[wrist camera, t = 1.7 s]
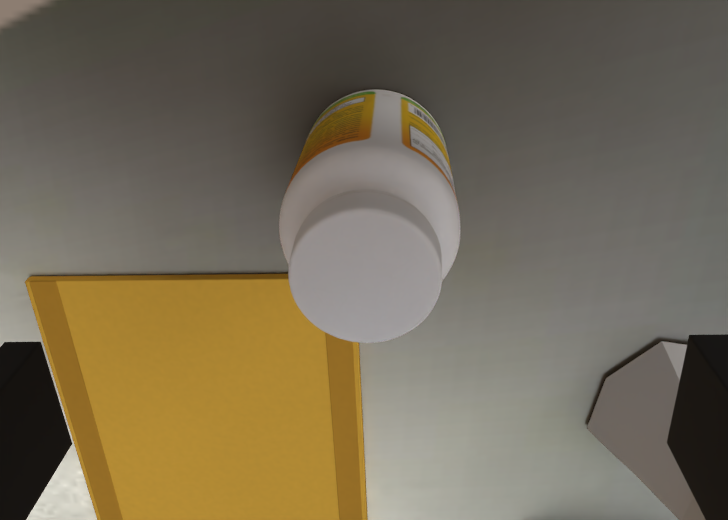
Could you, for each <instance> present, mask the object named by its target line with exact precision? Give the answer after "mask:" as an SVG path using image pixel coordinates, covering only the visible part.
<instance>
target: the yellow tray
mask: <svg viewBox="0 0 728 520" xmlns="http://www.w3.org/2000/svg"><path fill="white" fill-rule="evenodd" d="M25 283H26V287H27V290H28V293H29V297H30V300H31V303H32V306H33V310H34V313H35V316H36V320H37V323H38V326H39V329H40V333H41V336H42V339H43V342H44V346H45V349H46V352H47V356H48V359H49V362H50V365H51V369H52V372H53V375H54V379H55V382H56V385H57V388H58V392H59V395H60V398H61V402H62V405H63V408H64V411H65V415H66V418H67V421H68V424H69V428H70V431H71V434H72V438H73V441H74V444H75V447H76V451H77V454H78V457H79V461H80V464H81V467H82V470H83V474H84V477H85V480H86V484H87V487H88V490H89V493H90V497H91V500H92V503H93V506H94V510H95V513H96V516H97V520H367V500H366V479H365V459H364V438H363V418H362V397H361V377H360V356H359V343H358V342H351V341H347V340H343V339H339V338H336V337H334V336H332V335H330V334H328V333H326V332H324V331H322V330H320V329H319V328H318V327H316V326H315V325H314V324H313V323H311V322H310V321H309V320H308V319H307V318H306V317H305V315H304V314H303V313H302V312H301V310H300V309H299V307H298V306H297V304H296V302H295V300H294V298H293V296H292V293H291V289H290V285H289V276H288V274H217V275H120V276H31V277H29V278H28V279H27V280H26V281H25Z"/></svg>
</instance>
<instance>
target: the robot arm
mask: <svg viewBox="0 0 728 520" xmlns="http://www.w3.org/2000/svg"><path fill="white" fill-rule="evenodd" d="M667 444H668V446H669V448H670V450H671V452H672V454H673V456H674V458H675V460H676V462H677V464H678V466H679V468H680V470H681V472H682V474H683V476H684V478H685V480H686V482H687V484H688V486H689V488H690V490H691V492H692V494H693V496H694V498H695V500H696V502H697V504H698V506H699V508H700V510H701V512H702V514H703V516H704V518H705V520H728V335H689V339H688V344H687V348H686V353H685V358H684V363H683V367H682V372H681V377H680V382H679V386H678V391H677V396H676V401H675V405H674V410H673V415H672V420H671V424H670V429H669V434H668V439H667ZM71 445H72V442H71V438H70V435H69V432H68V429H67V425H66V422H65V419H64V416H63V413H62V409H61V406H60V403H59V400H58V396H57V393H56V390H55V387H54V384H53V380H52V377H51V374H50V371H49V367H48V364H47V361H46V358H45V354H44V351H43V348H42V345H41V342H5V343H4V344H3V345H2V346H1V347H0V520H26V519H27V517H28V515H29V514H30V512H31V510H32V509H33V507H34V505H35V504H36V502H37V500H38V499H39V497H40V496H41V494H42V492H43V491H44V489H45V487H46V486H47V484H48V482H49V481H50V479H51V478H52V476H53V474H54V473H55V471H56V469H57V468H58V466H59V464H60V463H61V461H62V459H63V458H64V456H65V455H66V453H67V451H68V450H69V448H70V446H71Z"/></svg>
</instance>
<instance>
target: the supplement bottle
mask: <svg viewBox="0 0 728 520" xmlns="http://www.w3.org/2000/svg"><path fill="white" fill-rule="evenodd" d="M460 230H461V228H460V214H459V208H458V202H457V198H456V193H455V188H454V183H453V177H452V172H451V167H450V162H449V157H448V152H447V148H446V143H445V141H444V138H443V135H442V132H441V130H440V128H439V126H438V124H437V123H436V121H435V120H434V118H433V117H432V116H431V114H430V113H429V112H428V111H427V110H426V109H425V108H424V107H422V106H421V105H420V104H419V103H417V102H416V101H414V100H413V99H411V98H409V97H407V96H405V95H403V94H400V93H397V92H393V91H388V90H378V89H373V90H364V91H359V92H355V93H352V94H349V95H347V96H345V97H343V98H341V99H339V100H337V101H336V102H334V103H333V104H331V105H330V106H329V107H328V108H327V109H325V111H324V112H323V113H322V114H321V115H320V116H319V117H318V119H317V120H316V122H315V123H314V125H313V127H312V129H311V131H310V133H309V135H308V137H307V140H306V142H305V145H304V148H303V150H302V153H301V155H300V158H299V160H298V163H297V165H296V168H295V170H294V173H293V175H292V177H291V180H290V183H289V185H288V188H287V190H286V193H285V196H284V199H283V202H282V206H281V211H280V217H279V236H280V241H281V246H282V249H283V253H284V255H285V258H286V261H287V263H288V265H289V269H288V276H289V285H290V289H291V293H292V296H293V298H294V300H295V302H296V304H297V306H298V307H299V309H300V310H301V312H302V313H303V314H304V315H305V317H306V318H307V319H308V320H309V321H310V322H311V323H313V324H314V325H315V326H316V327H318V328H319V329H320V330H322V331H324V332H326V333H328V334H330V335H332V336H334V337H336V338H339V339H343V340H347V341H351V342H358V343H375V342H382V341H388V340H391V339H394V338H397V337H400V336H402V335H404V334H406V333H408V332H409V331H411V330H412V329H414V328H415V327H417V326H418V325H419V324H420V323H421V322H422V321H423V320H425V319H426V317H427V316H428V315H429V314H430V312H431V311H432V309H433V307H434V306H435V304H436V302H437V300H438V297H439V294H440V291H441V286H442V281H443V280H444V278H445V277H446V275H447V274H448V272H449V270H450V269H451V267H452V265H453V263H454V260H455V258H456V255H457V251H458V248H459V243H460Z"/></svg>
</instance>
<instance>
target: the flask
mask: <svg viewBox="0 0 728 520" xmlns="http://www.w3.org/2000/svg"><path fill="white" fill-rule="evenodd" d="M686 348H687V345H684V344H677V343H670V342H663V341H661V342H660V343H658V344H657V345H655V346H654V347H652V348H651V349H649V350H648V351H646V352H645V353H643V354H642V355H640V356H639V357H637V358H636V359H634V360H633V361H631V362H630V363H628V364H627V365H625V366H624V367H622V368H621V369H619V370H618V371H616V372H615V373H613V374H612V375H610V376H609V377H607V378H606V379H605V382H604V384H603V387H602V390H601V392H600V395H599V398H598V400H597V403H596V406H595V408H594V411H593V413H592V416H591V419H590V421H589V424H588V427H587V429H588V430H589V431H590V432H591V433H592V434H593V435H594V436H595V437H596V438H597V439H598V440H599V441H600V442H601V443H602V444H603V445H604V446H606V447H607V448H608V449H609V450H610V451H611V452H612V453H613V454H614V455H615V456H616V457H617V458H618V459H619V460H620V461H621V462H622V463H623V464H624V465H626V466H627V467H628V468H629V469H630V470H631V471H632V472H633V473H634V474H635V475H636V476H637V477H638V478H639V479H640V480H641V481H642V482H643V483H644V484H645V485H646V486H647V487H648V488H649V489H650V490H651V491H652V492H653V493H654V494H655V495H656V496H657V497H658V498H659V500H660V501H661V502H662V503H663V504H664V505H665V506H666V507H667V508H668V509H669V510H670V511H671V512H672V513H673V514H674V515H675V516H676V517H677V518H678V519H679V520H705V518H704V516H703V514H702V512H701V510H700V508H699V506H698V504H697V502H696V500H695V498H694V496H693V494H692V492H691V490H690V488H689V486H688V484H687V482H686V480H685V478H684V476H683V474H682V472H681V470H680V468H679V466H678V464H677V462H676V460H675V458H674V456H673V454H672V452H671V450H670V448H669V446H668V444H667V439H668V434H669V429H670V424H671V420H672V415H673V410H674V405H675V401H676V396H677V391H678V386H679V382H680V377H681V372H682V367H683V363H684V358H685V353H686Z"/></svg>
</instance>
